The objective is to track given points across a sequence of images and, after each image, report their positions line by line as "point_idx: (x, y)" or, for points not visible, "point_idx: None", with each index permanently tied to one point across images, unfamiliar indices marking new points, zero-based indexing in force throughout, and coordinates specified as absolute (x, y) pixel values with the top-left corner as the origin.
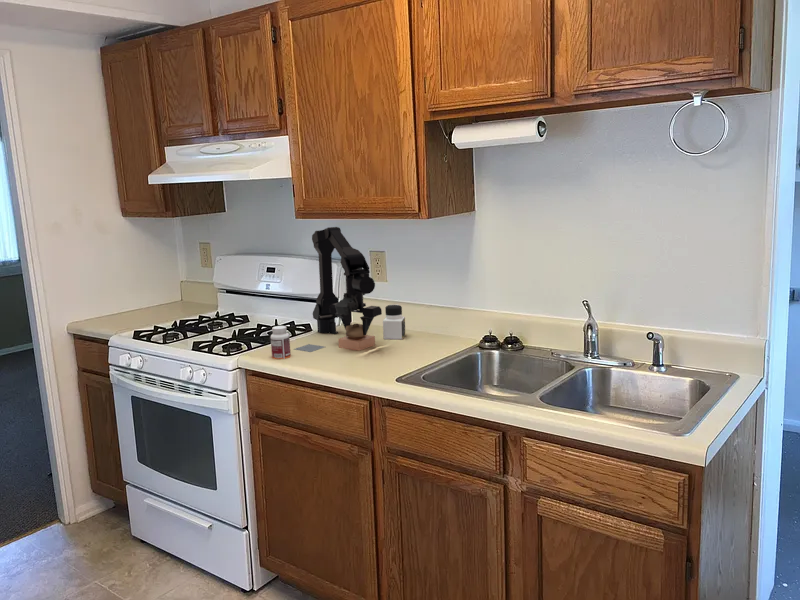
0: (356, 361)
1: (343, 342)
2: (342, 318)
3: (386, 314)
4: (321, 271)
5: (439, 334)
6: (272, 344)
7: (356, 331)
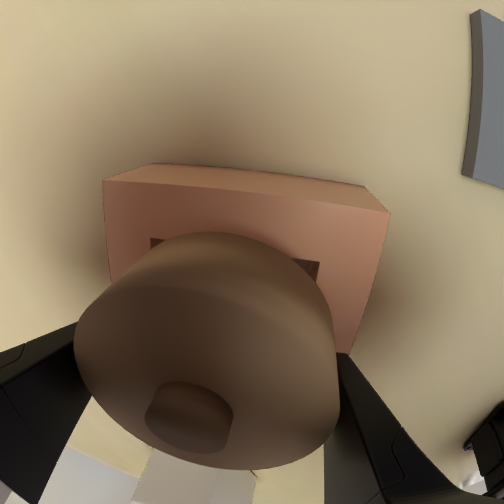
0: (80, 10)
1: (314, 193)
2: (418, 498)
3: None
4: None
5: (114, 466)
6: None
7: (115, 283)
